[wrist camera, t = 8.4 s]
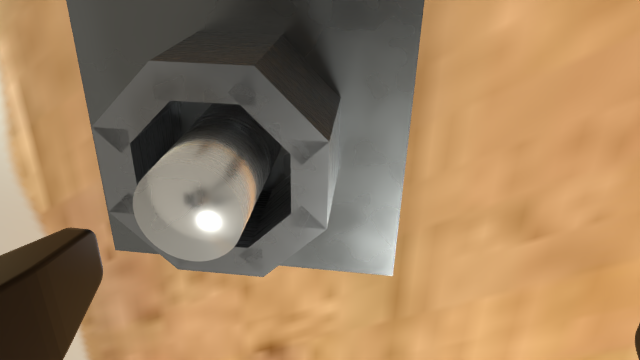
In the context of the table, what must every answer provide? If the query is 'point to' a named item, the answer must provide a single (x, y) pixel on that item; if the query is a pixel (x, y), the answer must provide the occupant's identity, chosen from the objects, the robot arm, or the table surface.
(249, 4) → the piston post
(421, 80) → the table surface
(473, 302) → the table surface
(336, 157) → the octagonal metal collar
